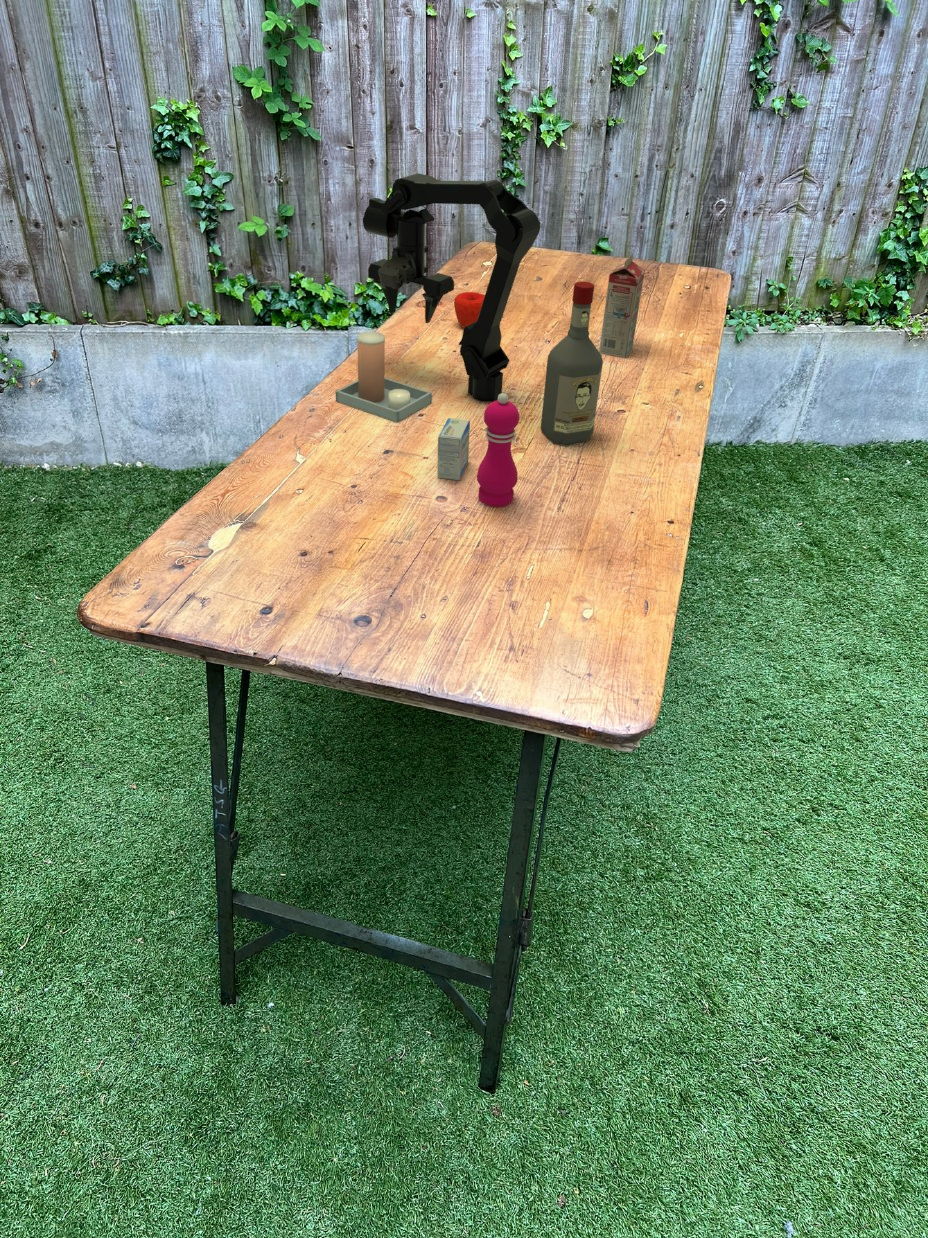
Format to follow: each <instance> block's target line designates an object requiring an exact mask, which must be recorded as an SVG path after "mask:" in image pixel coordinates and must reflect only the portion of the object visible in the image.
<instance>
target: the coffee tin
mask: <svg viewBox="0 0 928 1238" xmlns="http://www.w3.org/2000/svg"><path fill="white" fill-rule="evenodd" d="M356 337H357V338H356V341H357V380H358V397H359V398H361V399H364V400H367V401H370V402H373V403H377V402H380V401H382V400H384V394H385V378H386V377H385V374H386V373H385V371H386V370H385V369H386V367H385V364H386V362H385V359H386V357H385V355H386V353H385V352H386V351H385V350H386V349H385V348H386V347H385V344H386V336H385V334H383V333H381V332H378V331H363V332H359V333H358V334H357V336H356Z"/></svg>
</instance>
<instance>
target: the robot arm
mask: <svg viewBox="0 0 928 1238" xmlns="http://www.w3.org/2000/svg"><path fill="white" fill-rule="evenodd" d="M432 204H443V205H444V204H446V205H476V206H477V205H479V206H480V207H481V208H482V209H483V212H484V214H485V217H486V220H487V222H488V224H489V225H490V227H491V228H492V229H493V231H494V232H495V239H494V246H495V251H496V258H495V262H494V265H493V267H492V270H491V271H492V272H491V274H490V276H489V281H488V284H487V288H486V291H485V293H484V295H485V297H484V300H483V303H482V306H481V310H480V313H479V316H478V319H477V321H476V322H474V323H472V324H470V325H468V326H466V327H464V328H463V331H462V336H461V339H460V341H459V342H458V346H460V347H459V348H460V349H459V354H460V356H461V358H462V360H463V365H464V368H465V372H466V375H467V376H468V381H467V394H468V395H469V396H471V397H472V398H473V399H474V400H476V401H479V402H487V403H488V402H490V403H492V402H494V401H497V400H498V396H499V394H501V393H503V383H504V382H503V381H504V378H503V377H504V372H503V370H504V369H507V367H508V365H509V363H510V359H509V357H508V355H507V354H506V353H505V351H504V349H503V348H502V346H501V342H502V337H503V336H502V333H501V332H502V331H501V322H502V318H503V316H504V313H505V309H506V306H507V304H508V300H509V298H510V294H511V291H512V288H513V286H514V283H515V280H516V276H517V273H518V270H519V267H520V266H521V265H520V264H521V262H522V261H523V259H524V257H526V255H527V253H528V252H530V249H531V248H532V247H533V245H534V243H535V241H536V240H537V237H538V236H539V234H540V231H541V222H540V220H539V217H538V215H537V214H536V213H535V212H534V211H533V210H531V209H529V207H528V206H527V205H526V203H524V201H523V200H521V199H520V198H519V197H517V196H516V195H514V194H513V193H511V192H510V191H509V190H508V189H507V188H506V187H505V186H504V185H503V183H502V182H501V181H500V180H498V179H491V180H441V179H438V178H437V179H436V178H435V177H433V176H431V175H427V174H424V173H414V174H411V175H406V176H403V177H399V178H397V179H395V180H394V182H393V184H392V188H391V192H390V194H389V195H388V197H387V198H386V200H383V199H381V198H377V197H372V198H370V199H369V200H368V206H367V207H366V209H365V211H364V214H363V217H362V225H363V228H364V230H365V231H366V232H367V233H368V234H369V233H370V234H373V235H377V236H380V237H384V238H389V239H392V238H394V237H396V246H395V247H393V248H392V252H391V258H390V259H385V258H382V259H379V260H377V261H374V262H372V263H370V264H369V266H368V268H367V277H368V279H372V282H373V283H374V284H376V285H377V286H379V287H380V288H381V290H382V293H383V294H384V296H385V299H386V302H387V305H388V308H389V312H390V314H395V313H396V311H397V310H396V309H397V305H398V298H399V297H398V296H399V295H398V294H399V289H401V288H402V286H403V285H404V284H405V285H409V283H412V284H413V283H414V284H416V285H421V286H422V289H423V291H424V293H422V294H421V296H422V297H423V299H424V301H425V302H424V303H425V304H424V320H425V324H429V323H431V321H432V318H433V317H434V314H435V312H436V309H437V308H438V305H439V303H440V301H441V300H442V299H443V297H444V296H445V295H447V294H449V293H450V292H452V291H455V280H454V278H453V277H452V276H450V275H447V274H443V273H440V272H437V273H435V274H432V275H429V276H427V275H425V274H426V273H428V272H429V267H428V266H425V255H426V254H425V253H428V252H429V246H427V245H426V243H425V241H426V238H425V237H426V232H425V231H426V224H428V223H431V222H434V221H435V217H434V216H433V214H432V213H431V212H429V210H428V209H427V207H426V208H423V209H419V210H416V208H420V207H423V206H428V205H432ZM505 213H507V214H505Z"/></svg>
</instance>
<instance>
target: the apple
mask: <svg viewBox="0 0 928 1238" xmlns="http://www.w3.org/2000/svg"><path fill="white" fill-rule="evenodd" d="M484 297H485V294H482V293H479V292H474V291H466V292H465V291H464V292H460V293H459V294H456V296H455V298H454V300H453V305H454V312H455V315H456V316H455V317H456V319H457V322H458V324H459V325H460V327H462V328H463V329H464V327H466V326H468V325H470V324H472V323H474V322H476V321H477V319H478V316H479V313H480V310H481V306H482V303H483V300H484Z"/></svg>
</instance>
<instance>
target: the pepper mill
mask: <svg viewBox="0 0 928 1238" xmlns="http://www.w3.org/2000/svg"><path fill="white" fill-rule="evenodd" d="M483 421H484V423H485V426H486V428H485V431H486V432H485V437H486V439H487V449H486V453H485V455H484V456H483V458H482V460H481V462H480V464H479V466H478V469H477V472H476V473H477V474H476V481H477V483H478V484H479V487H478V494H477V495H478V498H477V499H478V500H479V502H481V503H482V504H483V505H486V506H487V507H491V508H492V507H494V508H502V507H506V506H507V507H508V506H509V505H510V504H512V503H513V501H514V495H515V492H514V491H515V490H514V487H515V486H516V485H517V483H518V477H519V476H518V474H519V473H518V470H517V465H516V464H515V461H514V459H513V455H512V450H511V449H512V443H513V441H514V439H516V427H517V426H518V424H519V423H520V412H519V409H518V408H517V406H516V405H515V404H514V403H513V402H511V401H509V396H508V394H507V393H505V392H502V393H501V394H499V396H498V400H497V401H494V402H490V403H489V404H488V405H487V406H486V407H485V410H484V413H483Z"/></svg>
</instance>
